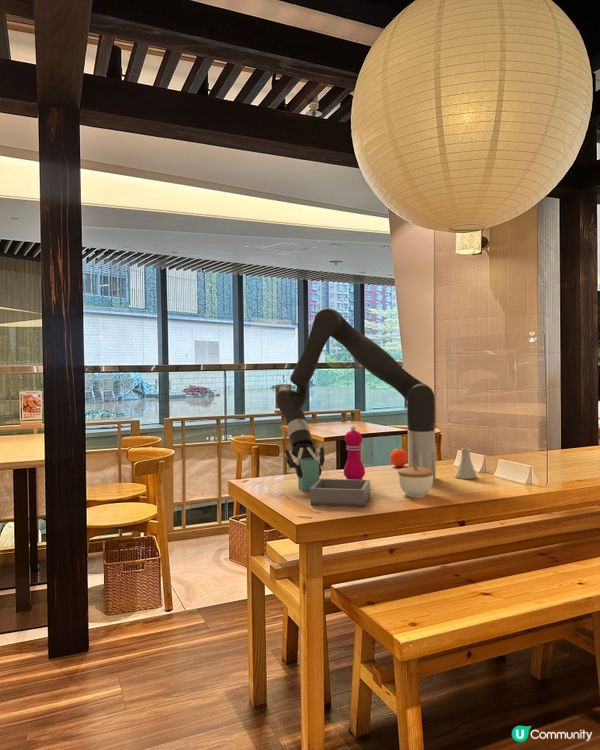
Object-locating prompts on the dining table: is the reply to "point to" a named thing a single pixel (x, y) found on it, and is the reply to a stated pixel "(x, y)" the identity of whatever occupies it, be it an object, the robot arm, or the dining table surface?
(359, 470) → the pepper mill
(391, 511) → the dining table surface
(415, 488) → the lidded jar
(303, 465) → the teal crate
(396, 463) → the clementine
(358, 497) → the tray
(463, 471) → the flask
